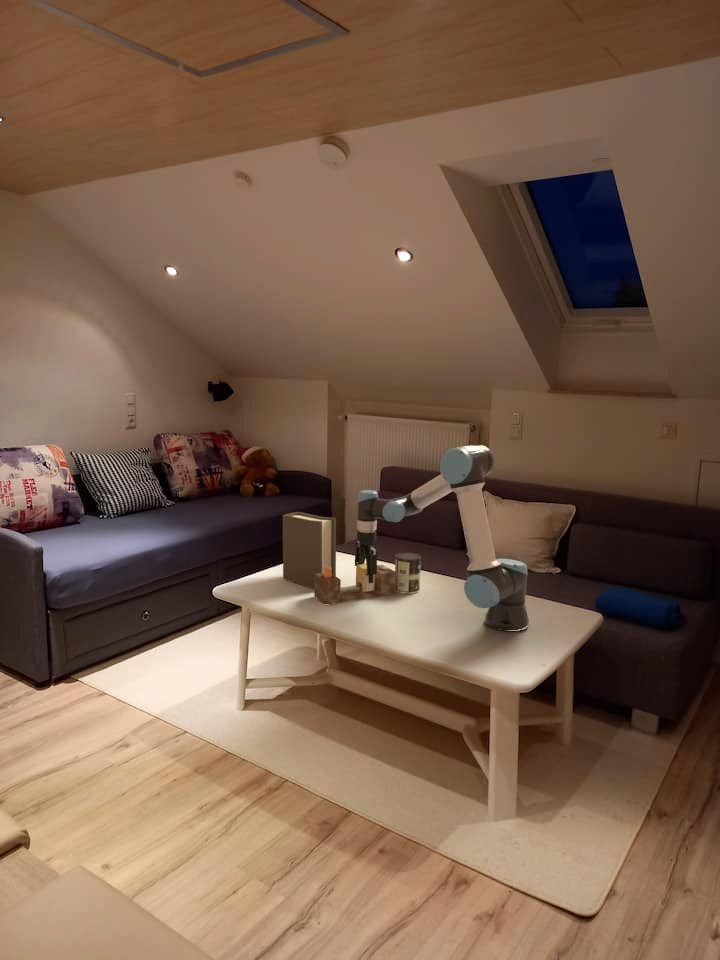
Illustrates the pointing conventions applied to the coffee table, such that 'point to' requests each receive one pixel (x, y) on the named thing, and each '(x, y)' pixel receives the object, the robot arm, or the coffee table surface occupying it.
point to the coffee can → (407, 573)
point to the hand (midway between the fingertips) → (364, 587)
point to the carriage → (362, 576)
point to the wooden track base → (331, 592)
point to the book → (308, 547)
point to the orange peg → (327, 572)
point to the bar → (352, 589)
